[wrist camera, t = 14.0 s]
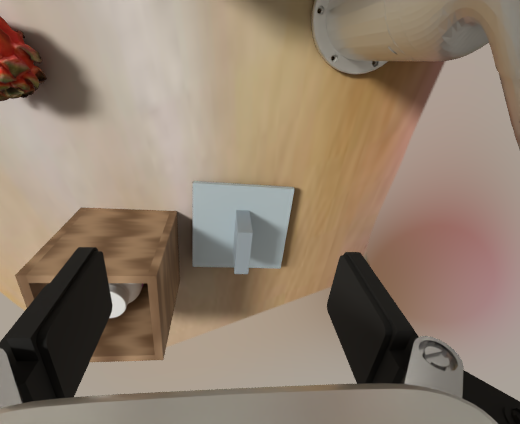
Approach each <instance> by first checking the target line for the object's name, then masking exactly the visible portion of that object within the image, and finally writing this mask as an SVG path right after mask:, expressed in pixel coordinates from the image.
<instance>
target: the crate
mask: <svg viewBox="0 0 520 424" xmlns="http://www.w3.org/2000/svg"><path fill="white" fill-rule="evenodd" d="M78 247H96V248H97V249H98V251H102V252H103V255H104V261H105V266H106V272H107V277H108V283H144V284H143V286H142V289H141V292H140V294H139V296H138V297H137V298H136V299H135V300H134V301H132V302H131V303H129V304H128V305H127V307H126V310H125V311H124V313H123V314H121V315H120V316H118V317H115V318H109V320H108V322H107V324H106V326H105V328H104V331H103V333H102V335H101V337H100V340H99V342H98V344H97V346H96V349H95V351H94V353H93V355H92V357H91V360H90V362H111V361H141V360H142V361H143V360H163V358H164V354H165V349H166V344H167V340H168V335H169V330H170V325H171V320H172V315H173V311H174V306H175V301H176V296H177V291H178V286H179V282H180V277H179V250H178V224H177V211H156V210H128V209H101V208H80V209H79V210H78V211H77V212H76V213H75V214H74V215H73V217H72V218H71V219H70V220H69V221H68V222H67V223H66V224H65V225H64V226H63V227H62V228H61V229H60V230H59V231H58V232H57V233H56V234H55V235H54V236H53V237H52V238H51V239H50V240H49V241H48V242H47V243H46V244H45V245H44V246H43V247H42V248H41V249H40V250H39V251H38V252H37V253H36V255H35V256H34V257H33V258H32V259H31V260H30V261H29V262H28V263H27V264H26V265H25V266H24V267H23V268H22V269H21V270H20V271H19V272H18V273H17V274H16V275H15V276H16V279H17V282H18V285H19V287H20V290H21V293H22V296H23V298H24V301H25V304H26V307H27V308H28V307H29V305H30V304H31V303H32V301H33V300H34V299H35V298H36V296H37V295H38V294H39V293H40V291H41V290H42V289H43V288H44V287H45V286H46V285H47V284H49V283H50V282H51V281H52V280H53V279H54V277H55V276H56V275H57V274H58V272H59V271H60V270H61V268H62V267H63V266H64V265H65V263H66V262H67V261H68V260H69V258H70V257H71V256H72V254H73V253H74V252H75V251H76V249H77V248H78Z"/></svg>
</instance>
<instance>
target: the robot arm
mask: <svg viewBox="0 0 520 424" xmlns="http://www.w3.org/2000/svg"><path fill="white" fill-rule="evenodd" d="M318 9H320V11H321V12H320V14H319V13H318V12H317V10H318ZM311 26H312V34H313V39H314V42H315V45H316V48H317V49H318V51H319V53H320V55H321V56H322V58H323V59H324V60H325V61H326V63H328V64H329V65H330V66H331V67H333V68H334V69H336V70H338V71H340V72H344V73H348V74H363V73H368V72H371V71H374V70H376V69H378V68H379V67H381V66H383V65H384V64H385V63H387V62H388V61H448V60H452V59H457V58H460V57H463V56H466V55H468V54H470V53H472V52H474V51H476V50H478V49H479V48H481V47H483V46H484V45H486V44H487V43H489V44H490V47H491V50H492V54H493V57H494V61H495V65H496V69H497V71H498V72H499V75H500V80H501V84H502V88H503V92H504V96H505V100H506V104H507V108H508V111H509V116H510V120H511V124H512V127H513V130H514V133H515V137H516V140H517V143H518V146H519V149H520V0H314V4H313V10H312V23H311ZM332 56H333V57H334V60H333V61H332V60H331V57H332ZM372 62H374V64H373V65H372ZM327 310H328V313H329V315H330V318H331V320H332V323H333V325H334V328H335V330H336V333H337V335H338V338H339V340H340V343H341V345H342V348H343V350H344V352H345V355H346V357H347V360H348V362H349V365H350V367H351V370H352V372H353V375H354V377H355V379H356V382H357V384H335V385H334V384H332V385H309V386H285V387H284V386H283V387H261V388H239V389H216V390H195V391H177V392H156V393H137V394H118V395H102V396H87V397H74V395H75V393H76V391H77V388H78V386H79V384H80V382H81V380H82V377H83V375H84V373H85V371H86V369H87V366H88V364H89V362H90V360H91V357H92V355H93V353H94V351H95V349H96V346H97V344H98V342H99V340H100V337H101V335H102V333H103V331H104V328H105V326H106V324H107V322H108V320H109V317H110V315H111V312H112V299H111V294H110V288H109V283H108V277H107V272H106V266H105V261H104V255H103V252H102V251H98V249H97V248H96V247H78V248H77V249H76V251H75V252H74V253H73V254H72V256H71V257H70V258H69V260H68V261H67V262H66V263H65V265H64V266H63V267H62V268H61V270H60V271H59V272H58V274H57V275H56V276H55V277H54V279H53V280H52V281H51V282H50V283H49V284H47V285H46V286H45V287H44V288H43V289H42V290H41V291H40V293H39V294H38V295H37V296H36V298H35V299H34V300H33V301H32V303H31V304H30V305H29V307H28V308H27V309H26V310H25V312H24V313H23V314H22V315H21V317H20V318H19V319H18V320H17V322H16V323H15V324H14V325H13V327H12V328H11V329H10V330H9V332H8V333H7V334H6V335H5V337H4V338H3V339H2V340H1V342H0V424H520V402H519V401H518V400H516V399H514V398H512V397H510V396H508V395H507V394H505V393H503V392H502V391H500V390H498V389H496V388H494V387H493V386H491V385H489V384H487V383H485V382H484V381H482V380H480V379H478V378H476V377H475V376H473V375H471V374H469V373H468V372H466V371H464V370H463V363H462V360H461V359H460V357H459V355H458V354H457V353H456V352H455V351H454V350H453V349H452V348H451V347H450V346H448V345H447V344H446V343H444V342H442V341H440V340H438V339H435V338H433V337H428V336H423V337H418V335H417V334H416V333H415V331H414V329H413V328H412V326H411V325H410V323H409V322H408V321H407V319H406V318H405V316H404V315H403V313H402V312H401V311H400V309H399V308H398V306H397V305H396V303H395V302H394V300H393V299H392V298H391V296H390V295H389V293H388V292H387V290H386V289H385V288H384V286H383V285H382V283H381V282H380V280H379V279H378V277H377V276H376V275H375V273H374V272H373V270H372V269H371V267H370V266H369V265H368V263H367V262H366V260H365V259H364V257H363V256H362V255H361V253H359V252H346V253H344V255H343V256H340V258H339V262H338V265H337V269H336V273H335V277H334V280H333V284H332V288H331V291H330V295H329V299H328V303H327Z"/></svg>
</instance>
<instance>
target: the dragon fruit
mask: <svg viewBox="0 0 520 424" xmlns="http://www.w3.org/2000/svg"><path fill="white" fill-rule="evenodd" d="M23 38H25V37H24V35H23V32H21V31H13V30H12V29H11V28H10V27H9V25H8V24H7V23H6V22H5V20H4V19H3V18H1V17H0V101H4V100H7V99H9V98H19V97H23V98H24V97H27V96H28V95H32V94H33V93H34V91H36V90H37V89H38V87H39V83H41V84H42V83H43V82H44V81H45V80H46V79H47V78H46V76H45V75H44V73H43V71H42V70H41V69H40V68H39V67H37V66H35V65H34V64H33V62H34V61H36V62H37V63H39V64H40V63H41V62H42V59H41V57H40V55H39V53H38V52H37V51H36V50H34V49H32V48H31V47H30V46H29V45H27V44H25V43H24V40H23ZM38 80H39V81H38ZM32 85H34V87H35V89H34V87H33V86H32Z"/></svg>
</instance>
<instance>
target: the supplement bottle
mask: <svg viewBox="0 0 520 424" xmlns="http://www.w3.org/2000/svg"><path fill="white" fill-rule="evenodd" d="M143 284H144V283H109V288H110V294H111V299H112V312H111V315H110V317H109V318H115V317H118V316H120V315H121V314H123V313H124V311H125V310H126V307H127V305H128V304H129V303H131V302H132V301H134V300H135V299H136V298H137V297H138V296H139V294H140V292H141V289H142V286H143Z"/></svg>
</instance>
